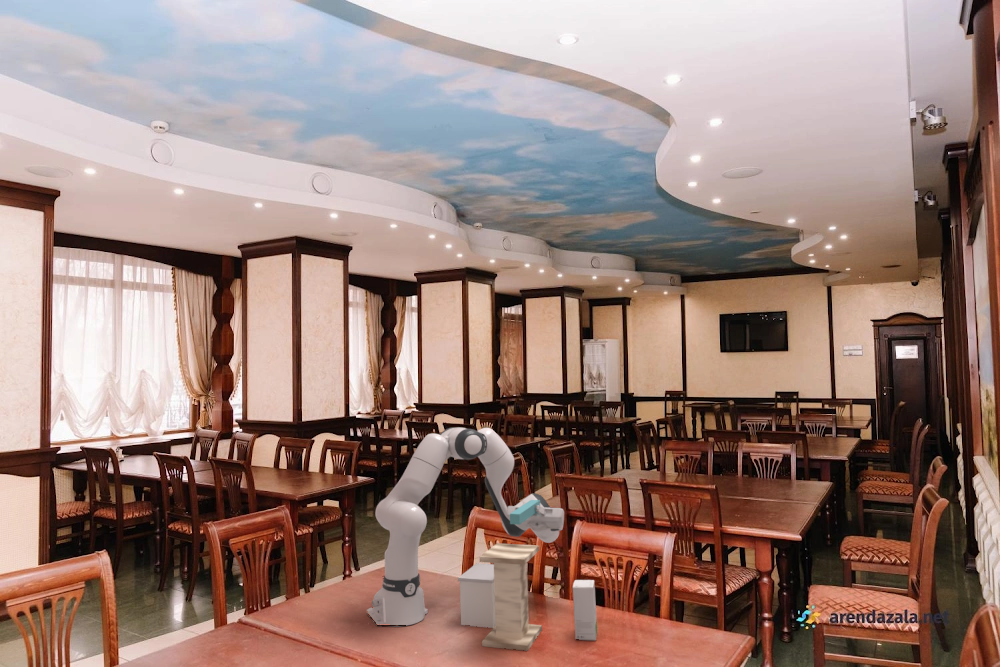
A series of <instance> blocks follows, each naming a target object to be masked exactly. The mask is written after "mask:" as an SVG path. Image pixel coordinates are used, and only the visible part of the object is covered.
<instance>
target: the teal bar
mask: <svg viewBox="0 0 1000 667" xmlns="http://www.w3.org/2000/svg"><path fill="white" fill-rule="evenodd" d="M535 505H539V506H540V500H530V501H529V502H527V503H526V504H524V505H522V506H521V507H519V508H518V509H516V510H515V511H513V512H512V513H510V524H518V525H520V524H521V523H523V522H524V521H525V520H527V519H528V518H529V517H531V516H532V515H533V514H535V513H536V511H535V510H534V508H535Z"/></svg>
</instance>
